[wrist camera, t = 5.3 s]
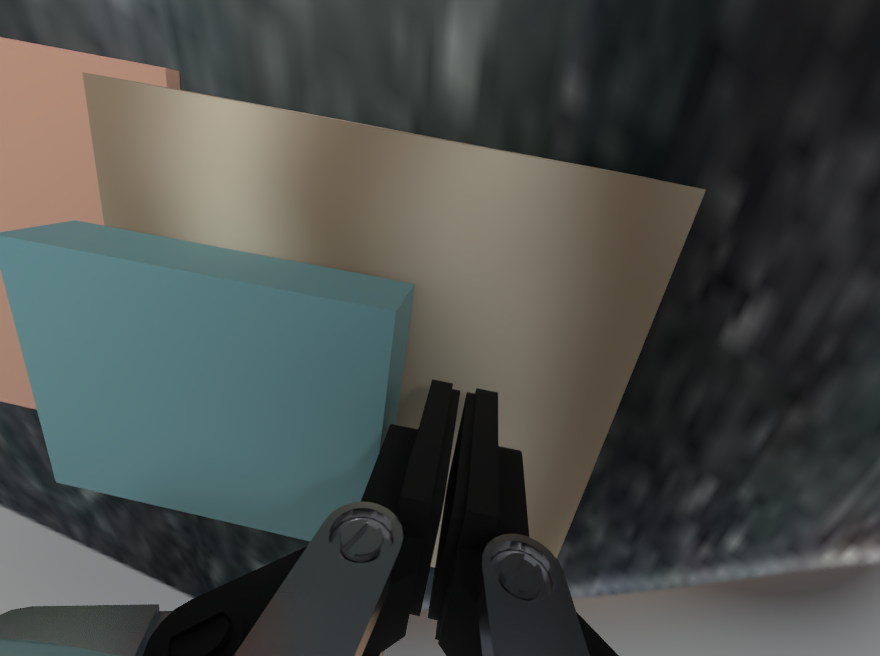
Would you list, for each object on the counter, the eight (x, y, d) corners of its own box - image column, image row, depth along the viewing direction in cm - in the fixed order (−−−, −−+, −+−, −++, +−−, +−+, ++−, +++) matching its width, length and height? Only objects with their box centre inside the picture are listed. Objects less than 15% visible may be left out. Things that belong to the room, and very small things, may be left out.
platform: (646, 177, 13) (705, 189, 9) (533, 501, 18) (542, 592, 14) (195, 92, 13) (82, 72, 10) (213, 429, 19) (143, 499, 15)
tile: (415, 283, 11) (395, 311, 9) (386, 499, 13) (367, 554, 11) (75, 220, 11) (-10, 233, 9) (114, 438, 14) (56, 482, 12)
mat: (179, 71, 13) (165, 68, 13) (202, 436, 19) (193, 445, 18) (-150, 10, 14) (-177, 4, 13) (-32, 383, 19) (-47, 390, 19)
